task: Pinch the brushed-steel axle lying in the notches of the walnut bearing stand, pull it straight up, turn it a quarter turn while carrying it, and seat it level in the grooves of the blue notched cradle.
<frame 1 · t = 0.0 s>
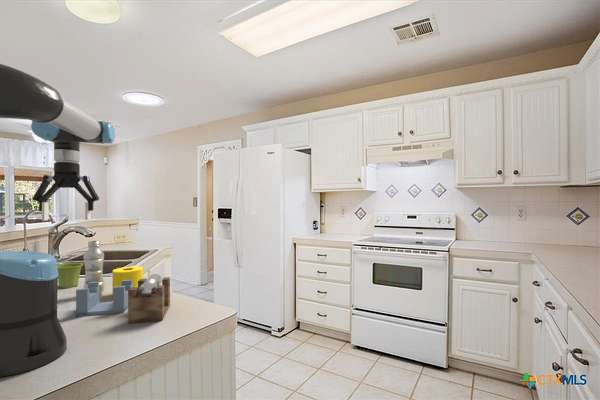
hand: (66, 220, 111), 28 cm above the counter, fingers open, 13 cm apart
bearing stand: (150, 313, 93), on the counter
yellow hollow cylinder: (128, 294, 113), on the counter
blue notched cradle: (105, 309, 97), on the counter
steel axle: (150, 291, 93), point 7 cm above the counter, touching bearing stand
metal bottle: (94, 295, 112), on the counter
plant pot: (69, 286, 124), on the counter
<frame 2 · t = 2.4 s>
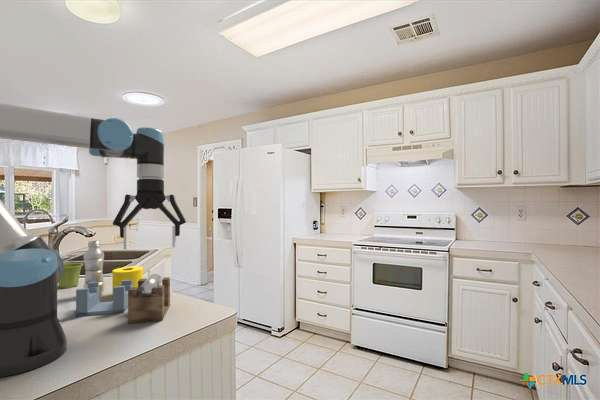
hand: (150, 247, 93), 20 cm above the counter, fingers open, 13 cm apart
nothing on the counter moved.
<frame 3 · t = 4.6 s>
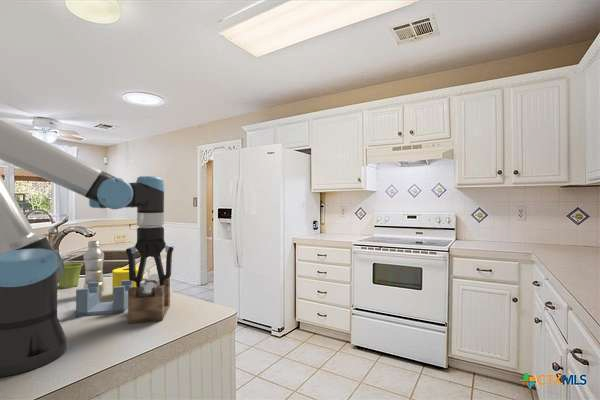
hand: (150, 302, 93), 4 cm above the counter, fingers closed on steel axle, 4 cm apart
steel axle: (150, 291, 93), point 7 cm above the counter, touching bearing stand, gripper
everything else where it was.
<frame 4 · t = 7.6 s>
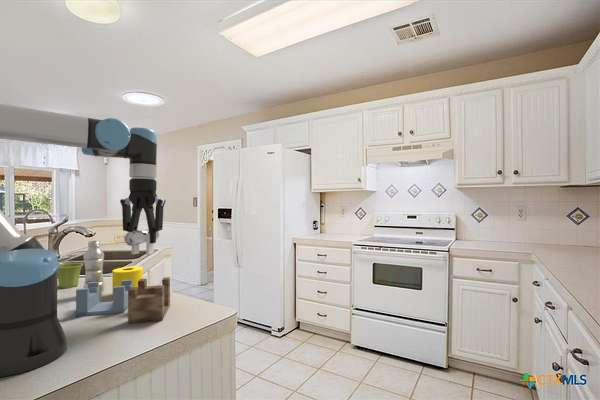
hand: (142, 253, 94), 18 cm above the counter, fingers closed on steel axle, 4 cm apart
steel axle: (142, 242, 94), point 22 cm above the counter, touching gripper
everything else where it was.
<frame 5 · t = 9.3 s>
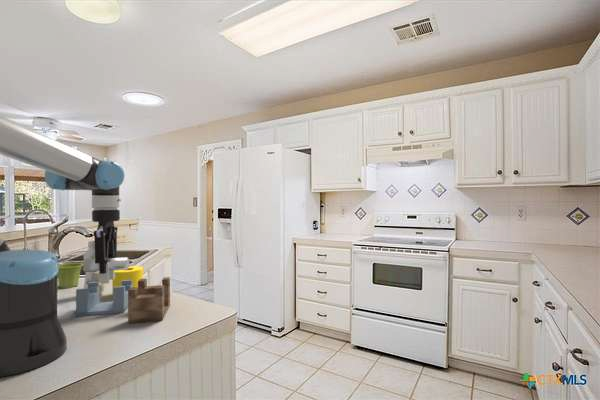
hand: (106, 281, 97), 9 cm above the counter, fingers closed on steel axle, 4 cm apart
steel axle: (106, 270, 97), point 12 cm above the counter, touching gripper
everything else where it was.
when the fingers open (3 cm above the counter, at t = 10.6 s): steel axle drops 1 cm, resting on blue notched cradle.
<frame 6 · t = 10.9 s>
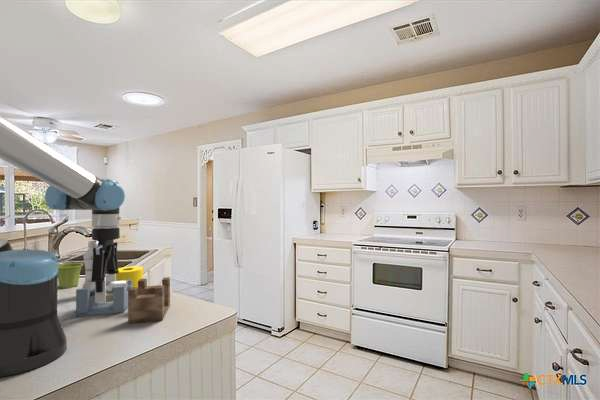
hand: (105, 297, 97), 4 cm above the counter, fingers open, 8 cm apart
steel axle: (106, 293, 97), point 5 cm above the counter, touching blue notched cradle
everything else where it was.
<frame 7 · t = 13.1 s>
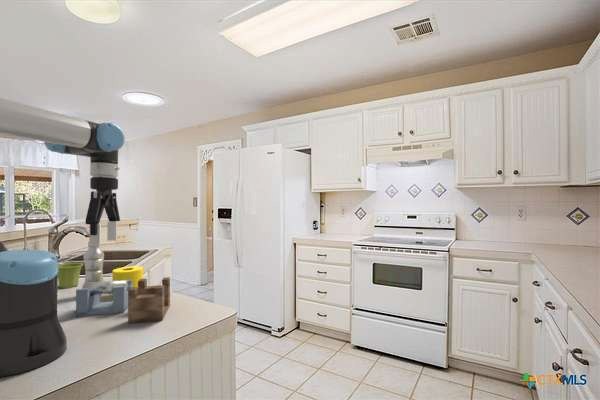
hand: (104, 243, 97), 21 cm above the counter, fingers open, 13 cm apart
nothing on the counter moved.
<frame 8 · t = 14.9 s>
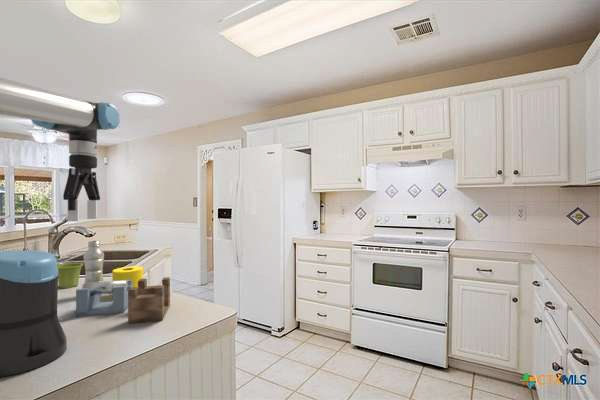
hand: (83, 220, 99), 29 cm above the counter, fingers open, 13 cm apart
nothing on the counter moved.
at the end: steel axle 0.0 cm off-centre on the blue notched cradle, point 5.0 cm above the blue notched cradle's base; steel axle tilted 2°; the gripper is holding nothing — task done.
